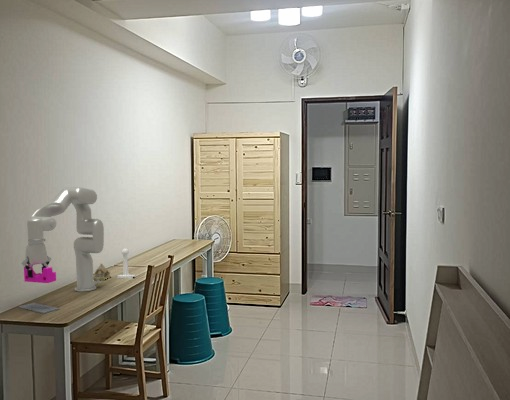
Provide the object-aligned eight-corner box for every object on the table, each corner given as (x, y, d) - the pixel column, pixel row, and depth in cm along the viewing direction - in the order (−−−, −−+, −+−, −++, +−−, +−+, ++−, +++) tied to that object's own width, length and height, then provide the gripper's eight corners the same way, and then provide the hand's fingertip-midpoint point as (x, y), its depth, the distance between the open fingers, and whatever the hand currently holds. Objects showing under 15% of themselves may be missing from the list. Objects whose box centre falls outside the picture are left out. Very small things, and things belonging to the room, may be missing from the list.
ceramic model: (95, 276, 366) (95, 262, 365) (112, 276, 366) (112, 261, 365) (90, 281, 352) (89, 266, 351) (108, 281, 352) (107, 265, 351)
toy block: (56, 280, 286) (55, 266, 285) (47, 283, 280) (47, 268, 279) (33, 279, 291) (32, 265, 290) (24, 281, 285) (23, 267, 284)
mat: (34, 303, 297) (34, 302, 297) (59, 309, 284) (59, 308, 284) (18, 307, 289) (18, 306, 289) (43, 313, 277) (43, 312, 277)
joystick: (116, 279, 356) (115, 248, 354) (120, 277, 363) (119, 247, 362) (133, 279, 355) (132, 248, 353) (136, 277, 362) (136, 247, 361)
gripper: (46, 239, 294) (47, 272, 295) (16, 244, 279) (17, 278, 281) (54, 240, 289) (56, 273, 290) (24, 245, 275) (26, 280, 276)
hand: (37, 275), depth 286 cm, fingers closed on toy block, 7 cm apart
